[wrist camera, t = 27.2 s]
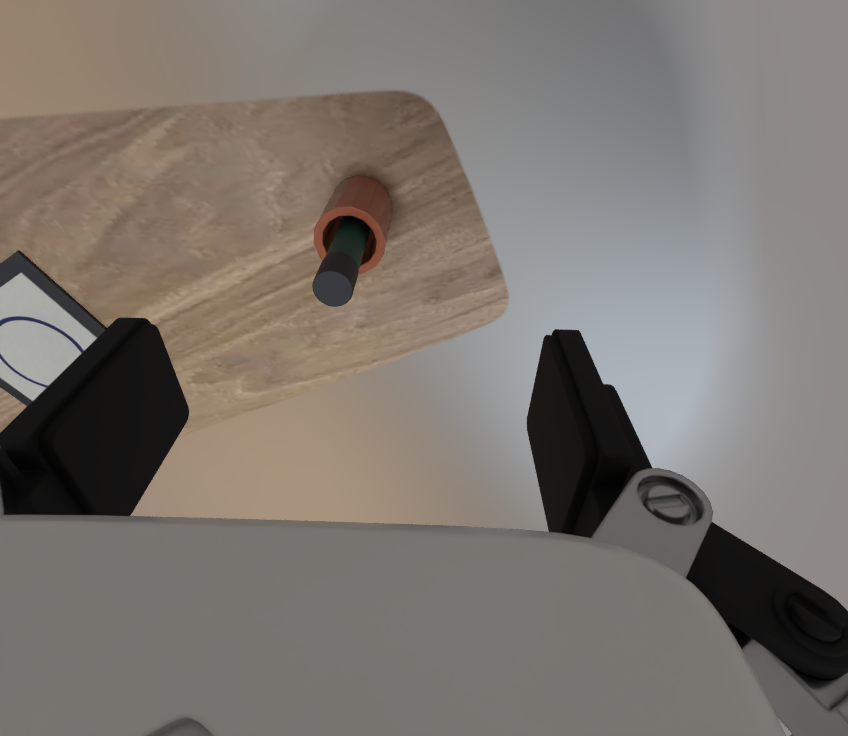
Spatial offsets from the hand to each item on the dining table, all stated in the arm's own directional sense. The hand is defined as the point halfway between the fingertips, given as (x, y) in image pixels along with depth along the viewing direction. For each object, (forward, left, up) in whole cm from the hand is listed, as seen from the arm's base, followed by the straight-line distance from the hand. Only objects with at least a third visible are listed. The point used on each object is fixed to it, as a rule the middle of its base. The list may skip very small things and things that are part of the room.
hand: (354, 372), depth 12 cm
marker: (+3, -6, -28) cm, 29 cm away
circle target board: (0, -42, -28) cm, 51 cm away
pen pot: (+3, -6, -28) cm, 29 cm away
